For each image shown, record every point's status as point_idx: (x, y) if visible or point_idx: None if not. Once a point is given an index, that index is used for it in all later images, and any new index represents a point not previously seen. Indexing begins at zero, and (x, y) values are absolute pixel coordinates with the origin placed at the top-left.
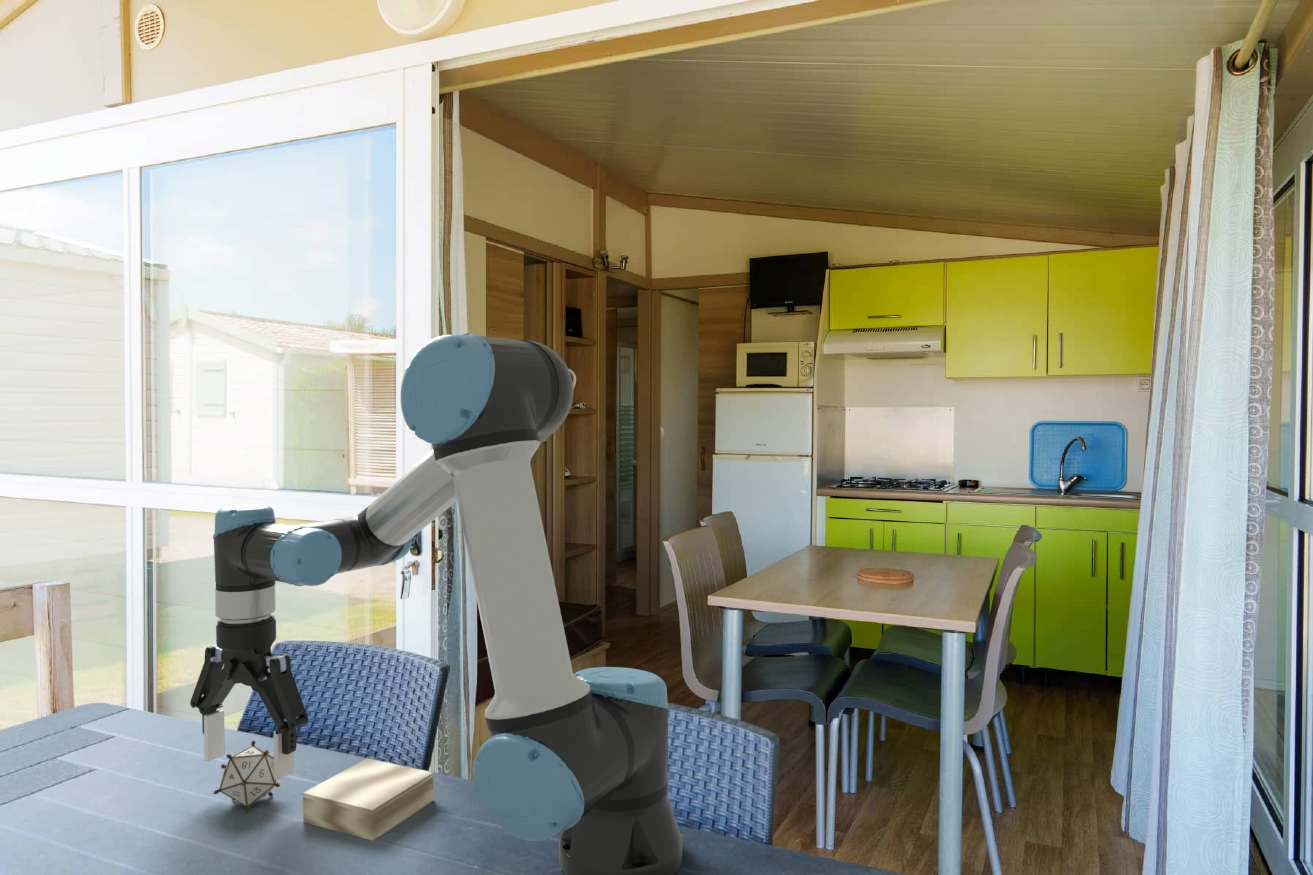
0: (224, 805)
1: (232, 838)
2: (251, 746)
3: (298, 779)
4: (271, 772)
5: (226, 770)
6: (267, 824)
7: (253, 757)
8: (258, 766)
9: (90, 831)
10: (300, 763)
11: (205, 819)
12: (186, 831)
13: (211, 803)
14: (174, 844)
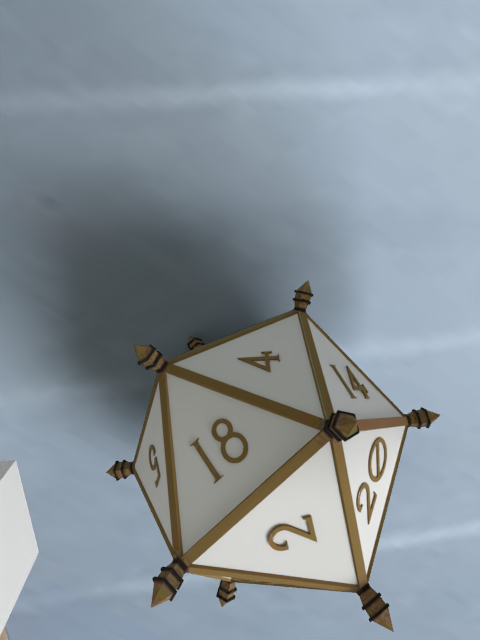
0: None
1: (48, 188)
2: (361, 579)
3: None
4: (146, 499)
5: (314, 369)
6: (40, 324)
7: (219, 510)
8: (169, 480)
9: None
10: (344, 615)
11: (282, 235)
12: (262, 138)
13: (369, 321)
14: (206, 41)
